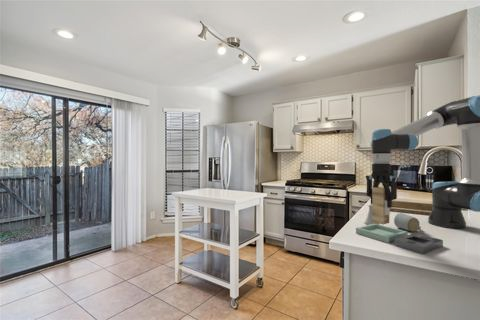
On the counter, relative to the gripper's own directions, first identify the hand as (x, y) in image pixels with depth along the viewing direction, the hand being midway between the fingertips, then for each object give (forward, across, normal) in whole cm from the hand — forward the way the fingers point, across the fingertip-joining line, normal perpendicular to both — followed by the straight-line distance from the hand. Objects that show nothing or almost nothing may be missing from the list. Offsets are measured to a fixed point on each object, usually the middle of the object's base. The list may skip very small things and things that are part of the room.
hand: (380, 213), depth 107 cm
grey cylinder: (+10, +2, +21) cm, 23 cm away
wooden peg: (+4, 0, 0) cm, 4 cm away
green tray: (+10, 0, 0) cm, 10 cm away
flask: (+10, -13, +14) cm, 22 cm away
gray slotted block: (+10, +15, 0) cm, 18 cm away
